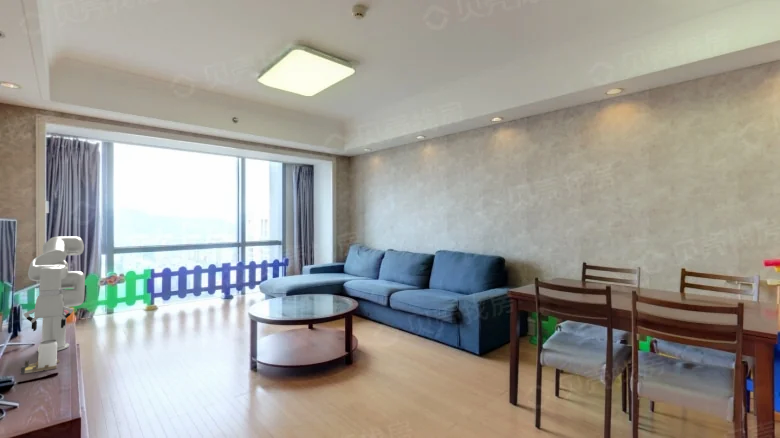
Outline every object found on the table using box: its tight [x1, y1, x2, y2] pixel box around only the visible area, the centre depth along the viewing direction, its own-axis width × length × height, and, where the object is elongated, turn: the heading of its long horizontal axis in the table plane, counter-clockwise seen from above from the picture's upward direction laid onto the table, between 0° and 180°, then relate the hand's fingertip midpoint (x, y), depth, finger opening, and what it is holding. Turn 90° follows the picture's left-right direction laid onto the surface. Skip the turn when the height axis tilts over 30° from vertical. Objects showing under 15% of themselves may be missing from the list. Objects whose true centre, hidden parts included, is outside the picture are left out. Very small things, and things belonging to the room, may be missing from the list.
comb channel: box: [20, 359, 60, 375], centre depth 172 cm, size 9×12×3 cm
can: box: [37, 340, 58, 368], centre depth 173 cm, size 6×6×12 cm
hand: (48, 328), depth 173 cm, fingers open, 9 cm apart
